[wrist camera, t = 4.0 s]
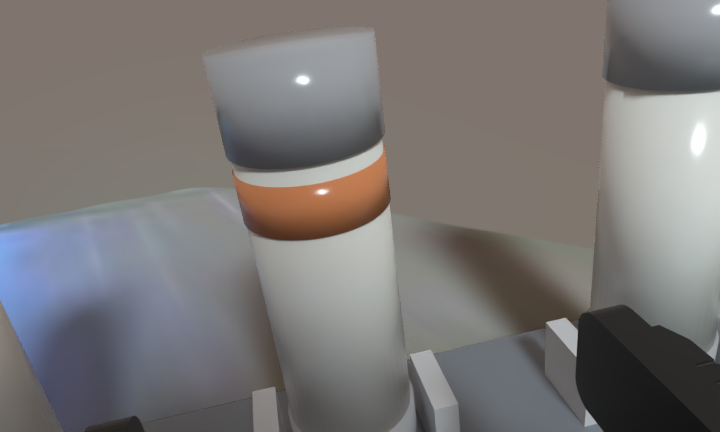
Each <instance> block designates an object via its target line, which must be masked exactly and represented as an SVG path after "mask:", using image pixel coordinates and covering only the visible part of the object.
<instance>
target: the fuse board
mask: <svg viewBox="0 0 720 432" xmlns="http://www.w3.org/2000/svg"><path fill="white" fill-rule="evenodd" d="M578 323H579V320H575V321H571V322H569V321H568V320H567V318H562V319H558V320H554V321H549V322H546V328H542V329H537V330H533V331H529V332H525V333H520V334H516V335H512V336H508V337H504V338H499V339H495V340H491V341H487V342H483V343H478V344H474V345H470V346H466V347H462V348H457V349H453V350H449V351H445V352H441V353H436V354H433V353H432V351H431V350H427V351H423V352H418V353H414V354H410V360H407V366H408V375H409V380H410V382H411V384H412V387H413V393H414V402H415V411H416V420H417V429H418V432H603V430H602V429H601V428H600V427H599V425H598V424H597V423H596V421H595V420H594V419H593V418H592V416H591V415H590V414H589V412H588V411H587V410H586V408H585V406H584V405H583V403H582V401H581V398H580V396H579V393H578V390H577V386H576V379H575V373H576V356H577V338H578ZM717 331H718V334H719V342H718V347H717V352H716V358H715V363H716V364H720V318H719V323H718V328H717ZM288 404H289V401H288V397H287V393H286V389H285V390H281V391H276V388H275V386H274V387H270V388H266V389H262V390H258V391H253V392H252V397H251V398H247V399H243V400H239V401H234V402H230V403H226V404H222V405H217V406H213V407H209V408H205V409H201V410H196V411H192V412H188V413H184V414H180V415H175V416H171V417H167V418H163V419H159V420H154V421H150V422H146V423H142V426H143V429H144V431H145V432H293V431H292V427H291V423H290V419H289V414H288Z"/></svg>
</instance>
